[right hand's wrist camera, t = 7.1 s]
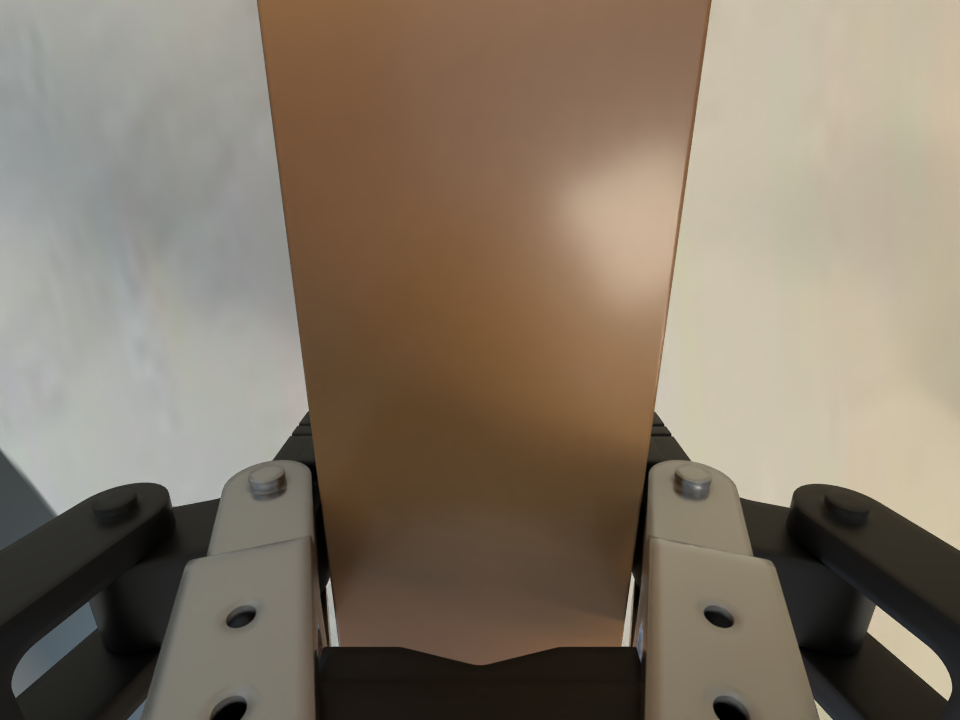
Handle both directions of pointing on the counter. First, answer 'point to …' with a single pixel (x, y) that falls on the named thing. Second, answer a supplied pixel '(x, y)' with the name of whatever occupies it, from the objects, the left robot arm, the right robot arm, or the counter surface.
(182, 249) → the counter surface
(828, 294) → the counter surface
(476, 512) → the post
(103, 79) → the counter surface
